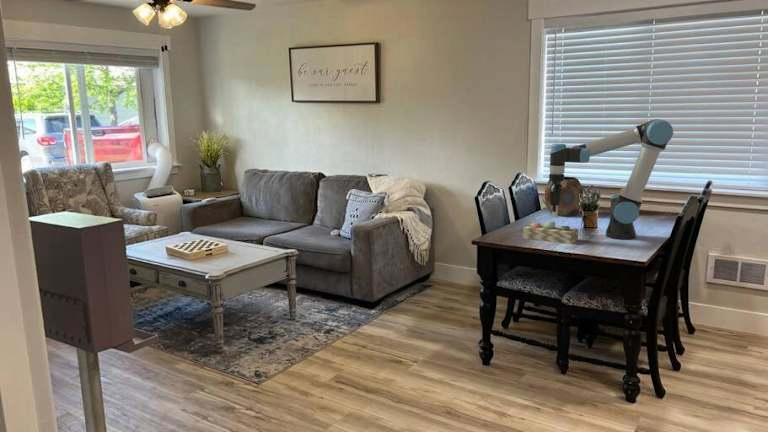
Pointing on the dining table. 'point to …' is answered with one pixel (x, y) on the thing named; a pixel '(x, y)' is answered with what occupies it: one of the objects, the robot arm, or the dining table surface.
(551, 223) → the button sage
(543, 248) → the dining table surface
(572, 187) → the brown dodecahedron
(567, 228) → the button charcoal
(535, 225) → the button terracotta
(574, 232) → the beige woven box
